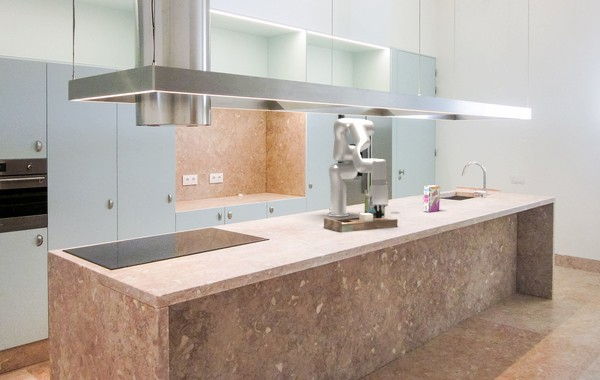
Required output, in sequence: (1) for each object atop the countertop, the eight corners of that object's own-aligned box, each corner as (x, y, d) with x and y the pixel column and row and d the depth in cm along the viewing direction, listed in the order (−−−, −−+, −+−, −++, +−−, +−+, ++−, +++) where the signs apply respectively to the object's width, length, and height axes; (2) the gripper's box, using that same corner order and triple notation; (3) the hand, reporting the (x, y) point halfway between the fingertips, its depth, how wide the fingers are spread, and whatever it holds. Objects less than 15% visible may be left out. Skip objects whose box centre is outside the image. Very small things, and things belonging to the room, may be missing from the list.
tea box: (385, 222, 285) (385, 195, 284) (366, 222, 285) (367, 195, 284) (381, 218, 300) (381, 193, 299) (364, 218, 300) (364, 193, 299)
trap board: (323, 227, 267) (323, 218, 267) (379, 222, 283) (379, 213, 283) (340, 232, 253) (340, 222, 253) (397, 226, 269) (397, 217, 268)
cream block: (359, 222, 265) (359, 213, 265) (367, 221, 268) (367, 212, 267) (364, 223, 261) (364, 214, 261) (372, 222, 263) (373, 214, 263)
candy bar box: (429, 212, 324) (429, 186, 322) (422, 211, 328) (423, 186, 326) (439, 211, 331) (440, 185, 330) (433, 210, 335) (433, 185, 333)
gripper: (386, 182, 274) (386, 216, 276) (362, 183, 267) (362, 218, 269) (395, 182, 267) (394, 218, 269) (371, 184, 261) (370, 220, 262)
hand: (378, 218), depth 269 cm, fingers closed
